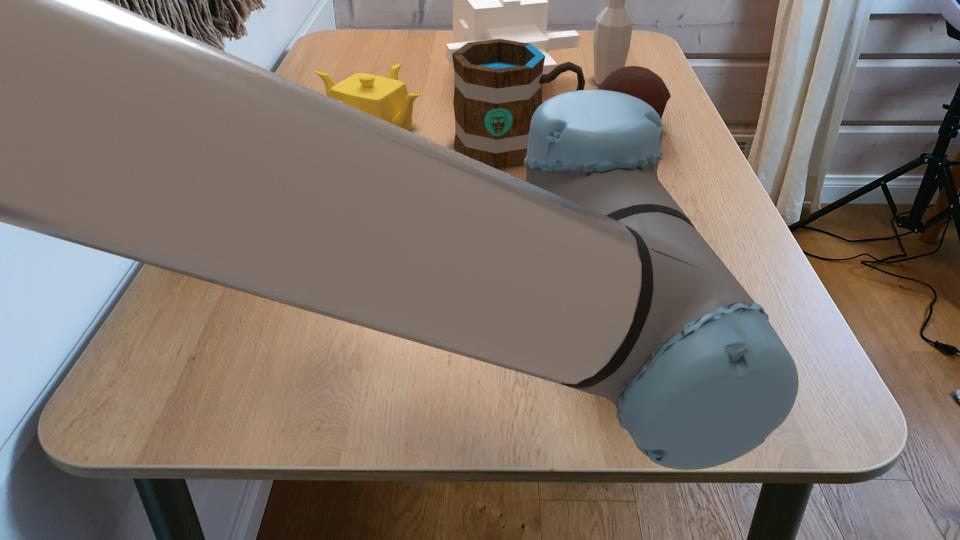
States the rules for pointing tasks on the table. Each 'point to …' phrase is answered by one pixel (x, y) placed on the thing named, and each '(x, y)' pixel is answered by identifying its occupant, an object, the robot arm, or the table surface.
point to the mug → (499, 98)
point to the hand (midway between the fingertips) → (256, 177)
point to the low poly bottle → (611, 39)
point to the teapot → (375, 95)
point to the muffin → (639, 86)
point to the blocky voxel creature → (508, 26)
